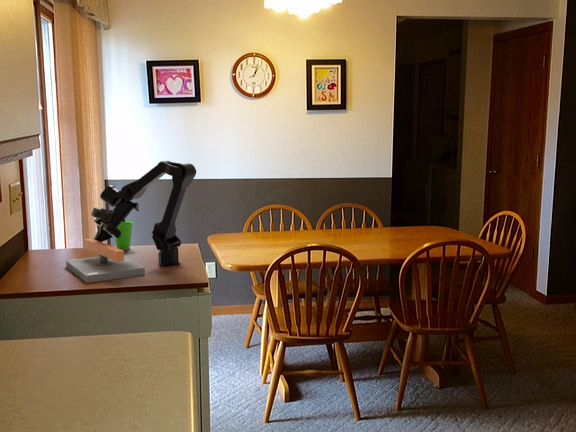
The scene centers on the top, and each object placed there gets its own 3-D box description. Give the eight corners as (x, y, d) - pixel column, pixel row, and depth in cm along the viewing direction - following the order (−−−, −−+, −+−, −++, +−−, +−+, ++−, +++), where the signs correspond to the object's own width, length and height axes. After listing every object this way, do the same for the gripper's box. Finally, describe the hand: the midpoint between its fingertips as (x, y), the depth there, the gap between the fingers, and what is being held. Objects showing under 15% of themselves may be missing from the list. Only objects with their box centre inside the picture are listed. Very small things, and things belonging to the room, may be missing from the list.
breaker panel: (119, 259, 238) (119, 252, 238) (144, 274, 215) (144, 266, 214) (66, 267, 227) (65, 259, 227) (87, 283, 204) (86, 274, 204)
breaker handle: (92, 256, 233) (91, 238, 232) (125, 271, 210) (124, 250, 209) (85, 257, 231) (83, 239, 230) (117, 272, 208) (116, 251, 207)
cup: (139, 248, 260) (137, 222, 258) (122, 252, 252) (121, 225, 251) (124, 246, 265) (122, 221, 263) (107, 249, 257) (106, 224, 255)
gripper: (97, 196, 237) (70, 227, 234) (110, 202, 221) (81, 236, 218) (119, 214, 243) (93, 245, 239) (133, 221, 227) (105, 255, 223)
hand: (92, 245), depth 230 cm, fingers closed, pressing on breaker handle
